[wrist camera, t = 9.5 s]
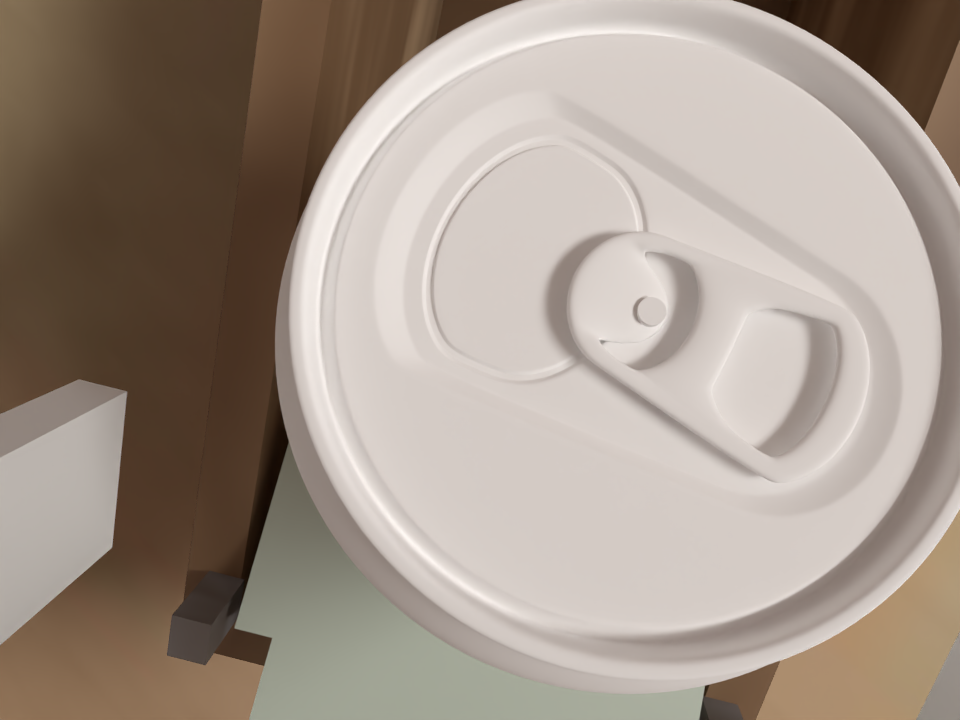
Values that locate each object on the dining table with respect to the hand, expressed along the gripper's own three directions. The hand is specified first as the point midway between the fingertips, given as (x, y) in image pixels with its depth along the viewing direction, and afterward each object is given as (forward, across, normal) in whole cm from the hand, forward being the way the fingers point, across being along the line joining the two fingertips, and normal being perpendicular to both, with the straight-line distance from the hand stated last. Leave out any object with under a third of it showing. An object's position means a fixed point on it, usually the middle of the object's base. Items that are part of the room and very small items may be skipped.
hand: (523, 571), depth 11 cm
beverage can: (+8, 0, 0) cm, 8 cm away
